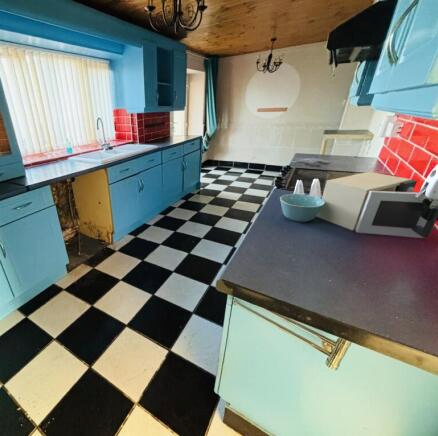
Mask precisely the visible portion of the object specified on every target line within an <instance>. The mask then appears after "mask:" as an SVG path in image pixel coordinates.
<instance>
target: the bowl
mask: <svg viewBox="0 0 438 436" xmlns="http://www.w3.org/2000/svg"><path fill="white" fill-rule="evenodd" d="M304 194H305V193H304ZM304 194H294V193H289V194H284V195H281V196H280V197H279V201H280V205H281V210H282V215H284V217H286V218H287V219H288V220H290V221H292V222H298V223H307V222H311V221H312V220H313V219H315V218H316V217H317V215H318V212H319V211H320V210H321V208H322V207H323V206H324V204H325V202H324V201H323V200H322V198H321V197H320V198H318V197H314V196H310V195H309V194H305V195H304Z"/></svg>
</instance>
